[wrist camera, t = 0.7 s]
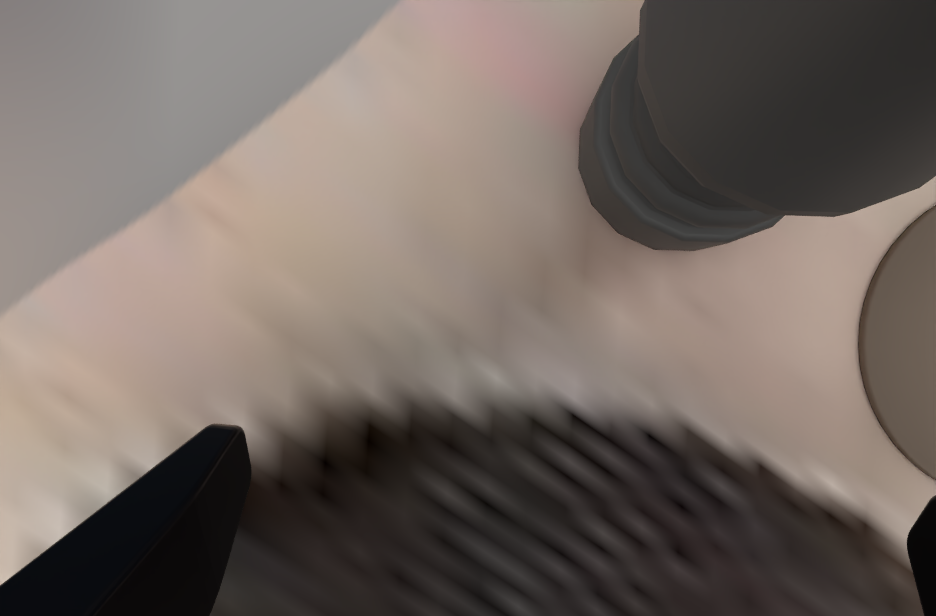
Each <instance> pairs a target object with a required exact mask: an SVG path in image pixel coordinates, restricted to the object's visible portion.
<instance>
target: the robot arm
mask: <svg viewBox="0 0 936 616" xmlns="http://www.w3.org/2000/svg"><path fill="white" fill-rule="evenodd" d="M250 481H251V464H250V459H249V453H248V448H247V443H246V438H245V433H244V431H243V429H242V428H241V427H239V426H235V425H225V424H211V425H209V426H207V427H205V428H204V429H203V430H201V431H200V432H199V433H198V434H196V435H195V436H194V437H192V438H191V439H190V440H188V441H187V442H186V443H185V444H183V445H182V446H181V447H179V448H178V449H177V450H175V451H174V452H173V453H172V454H170V455H169V456H168V457H166V458H165V459H164V460H163V461H161V462H160V463H159V464H157V465H156V466H155V467H153V468H152V469H151V470H150V471H148V472H147V473H146V474H144V475H143V476H142V477H140V478H139V479H138V480H137V481H135V482H134V483H133V484H131V485H130V486H129V487H127V488H126V489H125V490H124V491H122V492H121V493H120V494H118V495H117V496H116V497H114V498H113V499H112V500H111V501H109V502H108V503H107V504H105V505H104V506H103V507H101V508H100V509H99V510H98V511H96V512H95V513H94V514H92V515H91V516H90V517H88V518H87V519H86V520H85V521H83V522H82V523H81V524H79V525H78V526H77V527H76V528H74V529H73V530H72V531H70V532H69V533H68V534H66V535H65V536H64V537H63V538H61V539H60V540H59V541H57V542H56V543H55V544H53V545H52V546H51V547H50V548H48V549H47V550H46V551H44V552H43V553H42V554H40V555H39V556H38V557H37V558H35V559H34V560H33V561H31V562H30V563H29V564H27V565H26V566H25V567H24V568H22V569H21V570H20V571H18V572H17V573H16V574H14V575H13V576H12V577H11V578H9V579H8V580H7V581H5V582H4V583H3V584H1V585H0V616H209V615H210V613H211V611H212V608H213V605H214V603H215V600H216V598H217V595H218V592H219V589H220V586H221V583H222V580H223V576H224V573H225V570H226V566H227V563H228V559H229V556H230V552H231V549H232V545H233V542H234V538H235V535H236V531H237V528H238V524H239V521H240V517H241V514H242V510H243V507H244V503H245V500H246V497H247V493H248V490H249V486H250ZM907 550H908V555H909V559H910V563H911V567H912V570H913V574H914V578H915V582H916V586H917V590H918V593H919V597H920V601H921V605H922V609H923V613H924V616H936V495H935V496H934V497H932V498H931V499H930V501H929V502H928V504H927V505H926V507H925V508H924V510H923V511H922V513H921V514H920V516H919V517H918V519H917V521H916V522H915V524H914V525H913V527H912V528H911V530H910V532H909V534H908V538H907Z"/></svg>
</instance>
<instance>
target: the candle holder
mask: <svg viewBox="0 0 936 616" xmlns="http://www.w3.org/2000/svg"><path fill="white" fill-rule="evenodd" d="M579 171H580V174H581V177H582V179H583V182H584V185H585V187H586V190H587V193H588V195H589V198H590V201H591V204H592V205H593V207H594V208H595V209H596V210H597V211H598V212H599V213H600V214H601V215H602V216H603V217H604V218H605V219H606V220H607V221H608V223H609V224H610V225H611V226H612V227H613V228H614V229H615V230H616V231H617V232H618V233H619V234H621V235H623V236H626V237H628V238H630V239H632V240H634V241H637V242H639V243H641V244H643V245H645V246H648V247H650V248H652V249H655V250H684V251H695V250H700V249H704V248H708V247H713V246H717V245H722V244H726V243H729V242H732V241H735V240H738V239H740V238H743V237H746V236H748V235H751V234H754V233H757V232H759V231H762V230H765V229H767V228H770V227H773V226H774V225H775V224H776V223H777V222H778V221H779V220H780V219H781V218H782V217H783V216H785V215H795V216H827V217H835V216H840V215H844V214H848V213H852V212H855V211H857V210H860V209H863V208H866V207H868V206H871V205H874V204H877V203H879V202H882V201H885V200H887V199H890V198H893V197H896V196H898V195H901V194H904V193H906V192H909V191H912V190H915V189H917V188H920V187H921V186H922V185H924V184H925V183H926V182H928V181H929V180H931V179H932V178H933V177H935V176H936V0H645V1H644V3H643V6H642V8H641V10H640V27H639V35H638V36H637V37H636V38H635V39H633V40H632V41H631V42H630V43H629V44H628V45H627V46H626V47H625V48H624V49H623V50H622V51H621V52H620V53H619V54H617V55H616V56H615V57H614V58H613V60H612V63H611V65H610V67H609V69H608V71H607V73H606V75H605V77H604V79H603V81H602V83H601V85H600V87H599V89H598V92H597V94H596V96H595V98H594V100H593V102H592V104H591V107H590V109H589V111H588V113H587V115H586V118H585V120H584V122H583V124H582V126H581V128H580V143H579Z"/></svg>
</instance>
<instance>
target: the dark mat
mask: <svg viewBox="0 0 936 616" xmlns="http://www.w3.org/2000/svg"><path fill="white" fill-rule="evenodd" d="M859 357H860V367H861V372H862V377H863V382H864V387H865V389H866V392H867V395H868V398H869V401H870V404H871V406H872V408H873V410H874V412H875V414H876V416H877V418H878V420H879V422H880V424H881V426H882V427H883V429H884V430H885V432H886V433H887V434H888V436H889V437H890V439H891V440H892V442H893V443H894V444H895V445H896V446H897V448H898V449H899V450H900V451H901V452H902V453H903V454H904V455H905V456H906V457H907V459H908V460H910V461H911V462H912V463H913V464H914V465H916V466H917V467H918V468H919V469H920V470H921V471H923V472H924V473H925V474H927V475H928V476H930V477H931V478H933V479H935V480H936V206H934V207H933V208H931V209H930V210H928V211H927V212H925V213H924V214H923V215H922V216H921V217H919V218H918V219H917V220H916V221H915V222H914V223H913V224H911V225H910V226H909V227H908V228H907V229H906V230H905V231H904V232H903V234H902V235H901V236H900V237H899V238H898V239H897V240H896V241H895V243H894V244H893V245H892V246H891V248H890V249H889V251H888V252H887V254H886V255H885V257H884V258H883V260H882V261H881V263H880V265H879V267H878V269H877V271H876V273H875V275H874V277H873V279H872V281H871V284H870V286H869V289H868V292H867V295H866V298H865V301H864V305H863V310H862V315H861V320H860V331H859Z"/></svg>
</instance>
